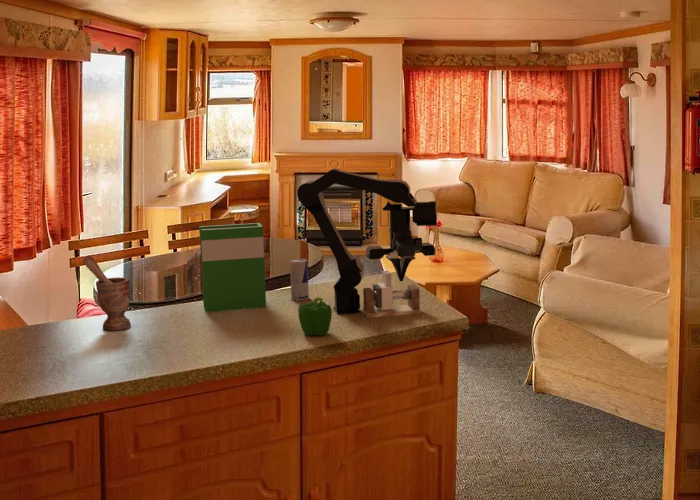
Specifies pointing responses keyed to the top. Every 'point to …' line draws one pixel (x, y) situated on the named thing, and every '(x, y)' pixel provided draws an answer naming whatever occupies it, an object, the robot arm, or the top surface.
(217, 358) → the top surface
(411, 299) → the pipe stand
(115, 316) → the mortar and pestle
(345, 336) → the top surface
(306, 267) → the energy drink
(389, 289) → the beige boxy piece
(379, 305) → the dark flat slab
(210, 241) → the hardback book
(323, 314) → the bell pepper
